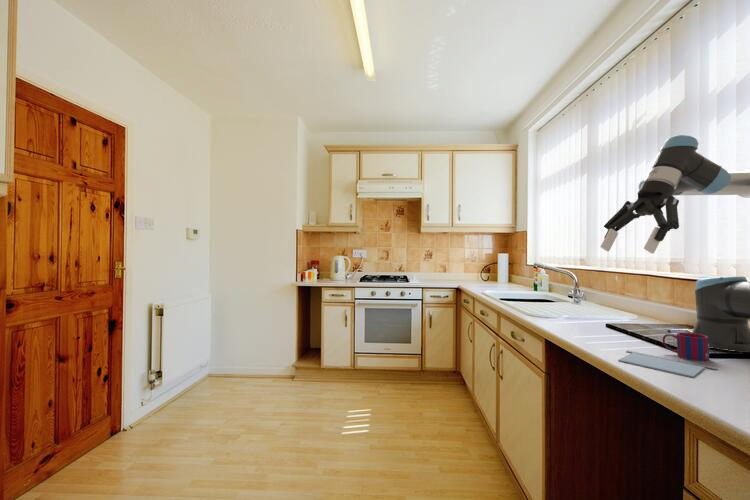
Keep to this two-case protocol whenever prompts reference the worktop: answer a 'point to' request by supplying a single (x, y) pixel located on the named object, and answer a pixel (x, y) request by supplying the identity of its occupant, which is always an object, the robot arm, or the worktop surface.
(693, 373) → the mat
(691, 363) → the line strip
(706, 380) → the worktop surface
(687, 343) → the mug
